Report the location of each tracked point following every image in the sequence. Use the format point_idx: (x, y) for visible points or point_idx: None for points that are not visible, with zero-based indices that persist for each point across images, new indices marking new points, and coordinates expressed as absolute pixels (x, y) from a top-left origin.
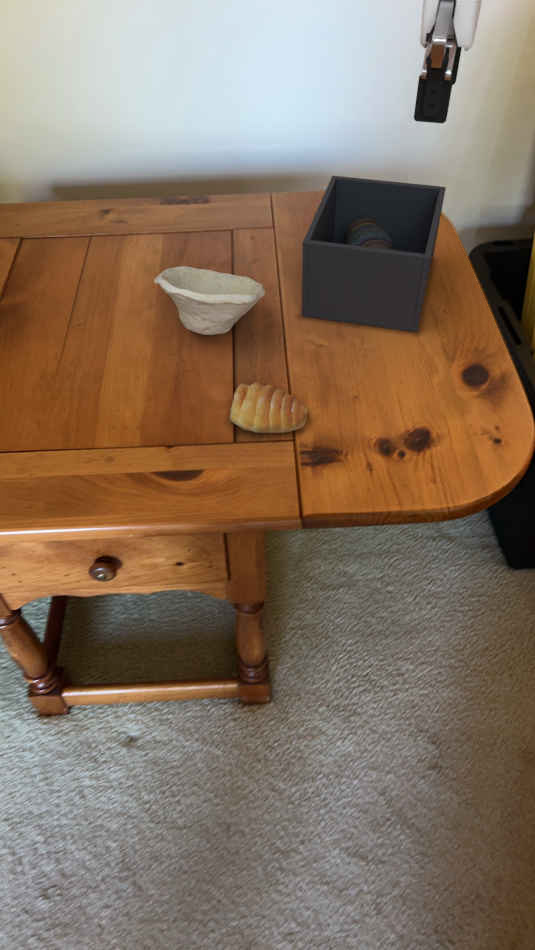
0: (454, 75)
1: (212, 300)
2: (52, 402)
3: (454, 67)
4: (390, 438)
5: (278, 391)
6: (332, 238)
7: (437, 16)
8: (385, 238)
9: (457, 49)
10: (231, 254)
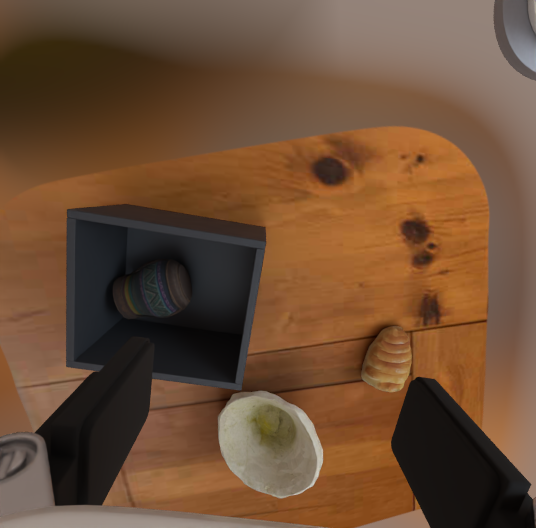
0: (142, 357)
1: (321, 449)
2: (365, 499)
3: (132, 377)
4: (412, 255)
5: (383, 357)
6: (123, 324)
7: None
8: (160, 278)
9: (99, 424)
10: (150, 410)
